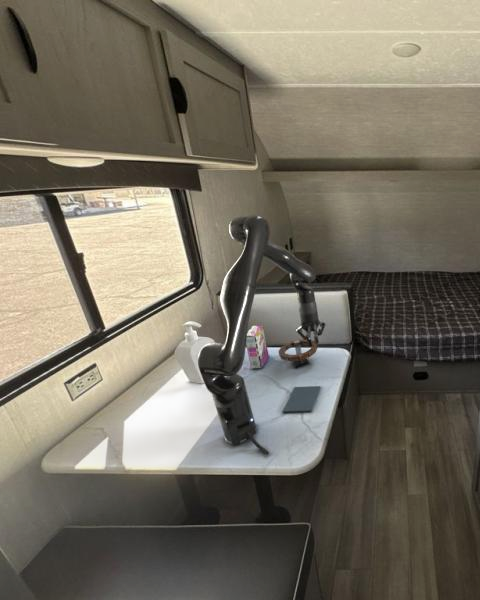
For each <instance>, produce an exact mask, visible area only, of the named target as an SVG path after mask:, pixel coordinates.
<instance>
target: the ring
mask: <svg viewBox="0 0 480 600" xmlns="http://www.w3.org/2000/svg"><path fill="white" fill-rule="evenodd" d="M296 340H297V339H295V340H292V341H289V342H287V343H285V344H283V345H282V346H280V348H279V350H278V356H279V357H280V360H282V361H285V362H292V361H299V360H303V359H306V358H307V359H309V358H311V357H312V356H313V355H315V354H316V353H317V350H318V345H317V344H316V343H315V342H314V340H313V339H311V342H312V347H310V346H309V345H308V343H307V339H306V340H304V339H303V338H301V339H298V340H299V341H300V345H301V346H308V347H310V349H308V350H307V351H305V352H302V353H301V354H298V355H296V354H288V353H286V351H289V350H290V349H291V348H295V344H294V341H296Z"/></svg>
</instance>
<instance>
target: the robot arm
mask: <svg viewBox="0 0 480 600" xmlns="http://www.w3.org/2000/svg"><path fill="white" fill-rule="evenodd" d="M228 230H229V234H230V237H231V238H232V239H233V241H235V243H237V244H239V245H241V246H243V250H242V253H241V255H240V256H239V257H238V259H237V260H236V262H234V264H233V265H232V267H231V268H230V269H229V271H228V272H227V274H226V275H225V277H224V279H223V284H222V287H221V291H220V296H219V302H220V305H221V309H222V312H223V315H224V317H225V320H226V325H227V333H226V339H225V342H224V343H223V342H215V343H209V344H207V345H205V346H204V347H203V348H202V349H201V350H200V352H199V355H198V367H199V370H200V373H201V376H202V378H203V381H204V383H203V384H204V385H205V388H206V389H207V391H208V392H209V393H210V394H211V397H212V400H213V403H214V406H215V409H216V412H217V416H218V419H219V422H220V426H221V429H222V432H223V435H224V439H225V442H226V443H227V444H229V445H232V447H235V446H238V445H240V444H243V443H245V442H248V441H251V443H252V444H253V445H254V446H255V447H256V448H257V449H258V450H259V451H261V453H264V454H265V455H266V456H269V454H270V451H268V450H267V449H265V447H263V446H262V445H261V444H260V443H259V442H258V441H257V440H256V439H255V437H254V436H255V435H256V434H257V429H258V427H257V424H256V421H255V417H254V413H253V409H252V407H251V402H250V398H249V394H248V391H247V386H246V382H245V379H244V378H243V376H242V375H239V374H238V373H239V372H240V370H241V369H242V367H243V364H244V361H245V358H246V357H245V355H246V350H247V348H246V339H247V332H248V328H249V324H250V318H251V317H250V316H251V311H252V307H253V303H254V298H255V295H256V289H257V284H258V277H259V274H260V271H261V266H262V261H263V258H266V259H267V260H268V261H270V262H272V263H273V264H275V265H276V266H277V267H279V268H280V269H281V270H283V271H284V272H286V273H287V274H289V278H290V281H291V283H292V286H293V288H294V290H295V292H296V294H297V301H298V312H299V317H300V326H299V327H298V328H295V331H296V333H297V334H298V335H299V336H300V337H301V339H304V340H307V343H308V345H309V346H308V345H307V346H308V347H309V348H311V347H312V342H311V340H312V338H311V335H312V334H311V333H313V341H314V342H315V343H316V344H317V346H318V344H319V337H320V336H322V335H323V332H324V330H325V327H326V322H325V321H320V319H319V315H318V314H319V313H318V306H317V302H316V296H315V291H314V288H313V287H312V286H309V285H308V284H311V283H313V282H314V281H315V280H316V277H317V273H316V270H315V269H314V268H313V266H311V265H310V264H308V263H307V262H305V261H302V260H301V259H299V258H297V256H296V255H294V254H293V253H292V252H291V251H290V250H288V249H287V248H284V247H283V246H280V245H278V244H276V243H273V242H272V241H270V240H269V239H270V236H271V234H270V233H271V227H270V223H269V221H268V219H267V218H265V216H262V215H258V214H257V215H256V214H255V215H247V216H238V217H236V218H233V219H232V220H231V221H230V223H229V225H228ZM303 331H305V334H303Z"/></svg>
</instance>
